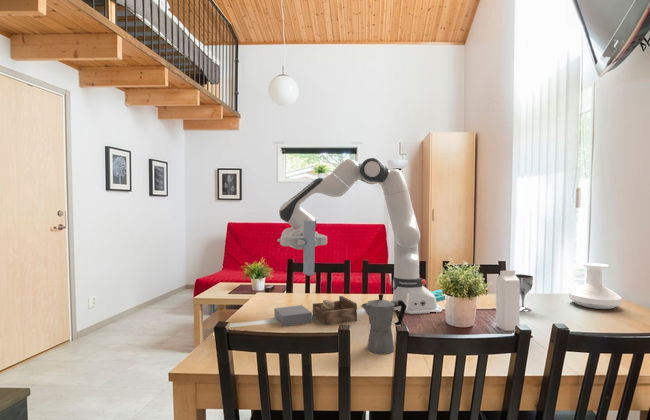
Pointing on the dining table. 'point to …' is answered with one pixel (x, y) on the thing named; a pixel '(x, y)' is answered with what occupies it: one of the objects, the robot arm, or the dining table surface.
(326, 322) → the brown wooden box
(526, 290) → the wine glass
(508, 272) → the milk
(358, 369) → the dining table surface
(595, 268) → the candle holder
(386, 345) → the coffeepot
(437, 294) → the alien figure
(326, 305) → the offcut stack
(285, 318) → the stand
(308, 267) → the panel
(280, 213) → the robot arm
